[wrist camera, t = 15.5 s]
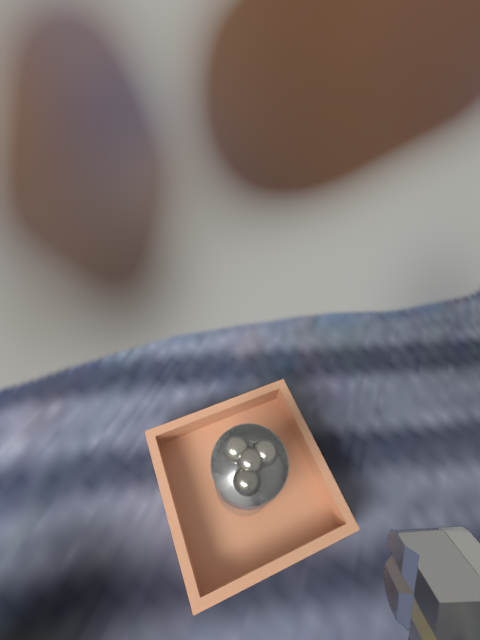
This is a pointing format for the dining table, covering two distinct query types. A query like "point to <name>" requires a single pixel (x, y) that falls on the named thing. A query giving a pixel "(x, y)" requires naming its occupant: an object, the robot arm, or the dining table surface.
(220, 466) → the silver metal cylinder
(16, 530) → the dining table surface
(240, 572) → the terracotta bin
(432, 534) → the robot arm
